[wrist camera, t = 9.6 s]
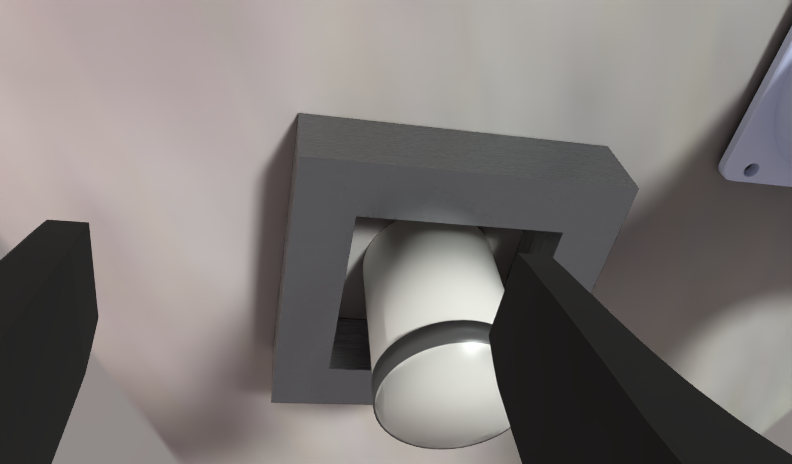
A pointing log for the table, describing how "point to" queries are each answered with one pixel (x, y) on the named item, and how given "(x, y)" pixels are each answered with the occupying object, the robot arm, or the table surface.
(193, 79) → the table surface
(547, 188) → the grey square frame
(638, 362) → the robot arm
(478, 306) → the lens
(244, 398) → the table surface
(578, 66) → the table surface
